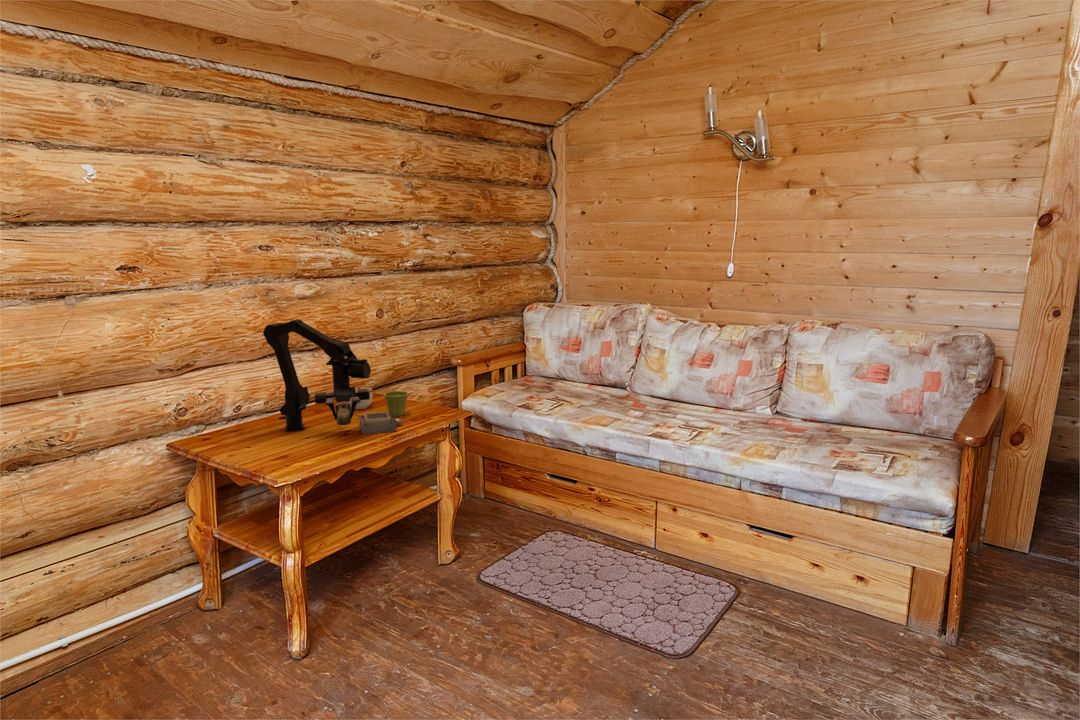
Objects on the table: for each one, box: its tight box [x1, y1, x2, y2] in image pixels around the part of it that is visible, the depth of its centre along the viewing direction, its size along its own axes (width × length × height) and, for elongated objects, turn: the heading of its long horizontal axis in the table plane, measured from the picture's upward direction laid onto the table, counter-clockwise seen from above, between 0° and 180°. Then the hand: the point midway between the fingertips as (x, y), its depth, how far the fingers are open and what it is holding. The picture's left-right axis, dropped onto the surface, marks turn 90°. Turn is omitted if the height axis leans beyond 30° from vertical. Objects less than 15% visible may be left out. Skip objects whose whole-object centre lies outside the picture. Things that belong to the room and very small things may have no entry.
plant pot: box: [383, 390, 409, 417], centre depth 254 cm, size 9×9×9 cm
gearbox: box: [358, 411, 403, 436], centre depth 238 cm, size 14×15×4 cm
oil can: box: [335, 401, 352, 426], centre depth 231 cm, size 7×5×8 cm
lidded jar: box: [347, 384, 374, 410], centre depth 265 cm, size 11×11×9 cm
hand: (343, 419), depth 233 cm, fingers closed on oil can, 5 cm apart
